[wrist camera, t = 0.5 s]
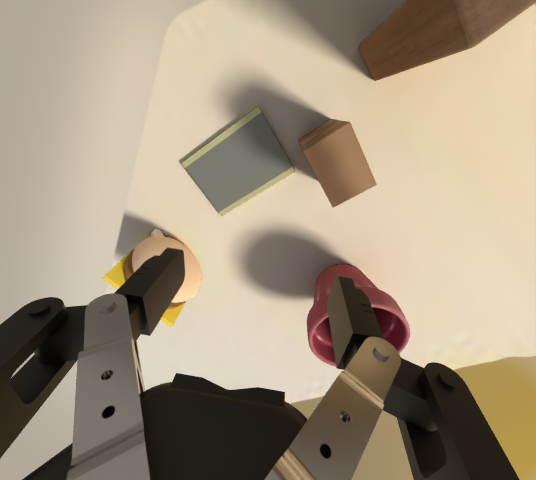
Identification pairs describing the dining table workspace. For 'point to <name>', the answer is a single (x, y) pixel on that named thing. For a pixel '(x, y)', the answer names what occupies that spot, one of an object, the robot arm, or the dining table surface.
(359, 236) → the dining table surface
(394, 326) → the plant pot
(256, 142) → the mat
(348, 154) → the walnut block
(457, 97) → the dining table surface
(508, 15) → the wooden block
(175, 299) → the hamburger
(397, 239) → the dining table surface
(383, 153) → the dining table surface
